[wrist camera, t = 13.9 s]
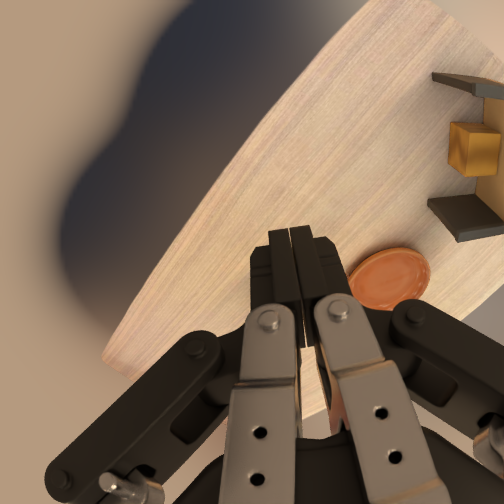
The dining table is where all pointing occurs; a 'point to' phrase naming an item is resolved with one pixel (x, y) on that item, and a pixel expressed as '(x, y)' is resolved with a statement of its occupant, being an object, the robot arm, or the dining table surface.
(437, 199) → the small wooden bench
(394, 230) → the dining table surface
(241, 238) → the dining table surface
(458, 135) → the box
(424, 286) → the saucer
